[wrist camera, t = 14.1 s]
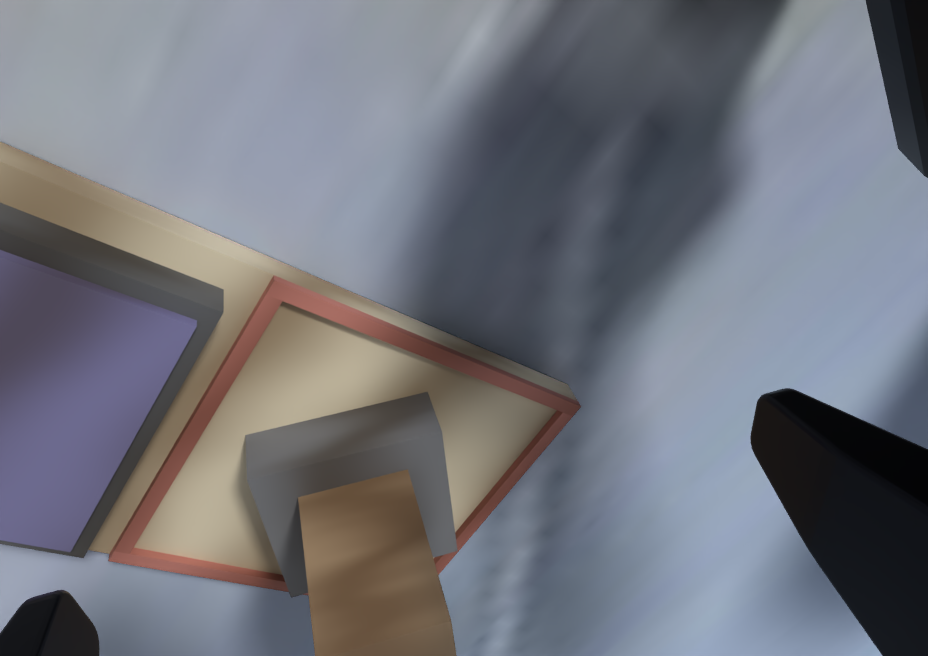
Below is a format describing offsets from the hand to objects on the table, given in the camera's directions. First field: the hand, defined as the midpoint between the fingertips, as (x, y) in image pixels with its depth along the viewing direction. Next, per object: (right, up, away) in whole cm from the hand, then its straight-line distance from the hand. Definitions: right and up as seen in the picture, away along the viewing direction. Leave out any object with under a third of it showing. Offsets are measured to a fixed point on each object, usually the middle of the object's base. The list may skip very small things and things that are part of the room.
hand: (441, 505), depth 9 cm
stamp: (-4, -3, +16) cm, 17 cm away
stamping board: (-9, 0, +14) cm, 16 cm away
